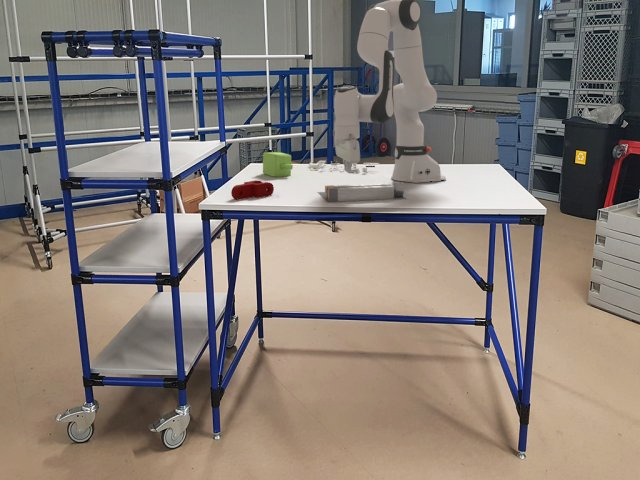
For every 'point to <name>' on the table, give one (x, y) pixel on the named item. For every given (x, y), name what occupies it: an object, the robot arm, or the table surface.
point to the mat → (353, 201)
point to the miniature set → (322, 164)
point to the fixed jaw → (366, 193)
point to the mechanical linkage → (252, 190)
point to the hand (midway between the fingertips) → (347, 171)
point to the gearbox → (277, 164)
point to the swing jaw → (352, 186)
